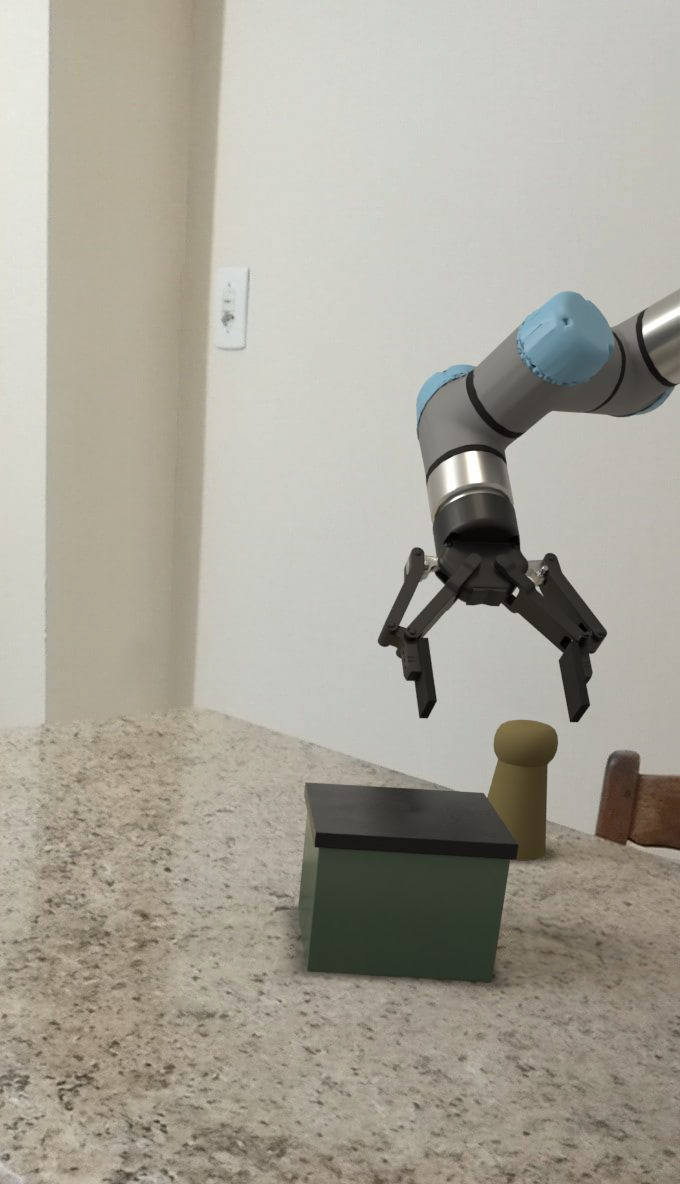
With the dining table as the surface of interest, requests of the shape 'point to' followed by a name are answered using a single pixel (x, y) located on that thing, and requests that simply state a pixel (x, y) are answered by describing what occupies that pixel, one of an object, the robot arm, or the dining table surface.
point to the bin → (402, 882)
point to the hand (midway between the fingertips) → (504, 712)
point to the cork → (523, 782)
